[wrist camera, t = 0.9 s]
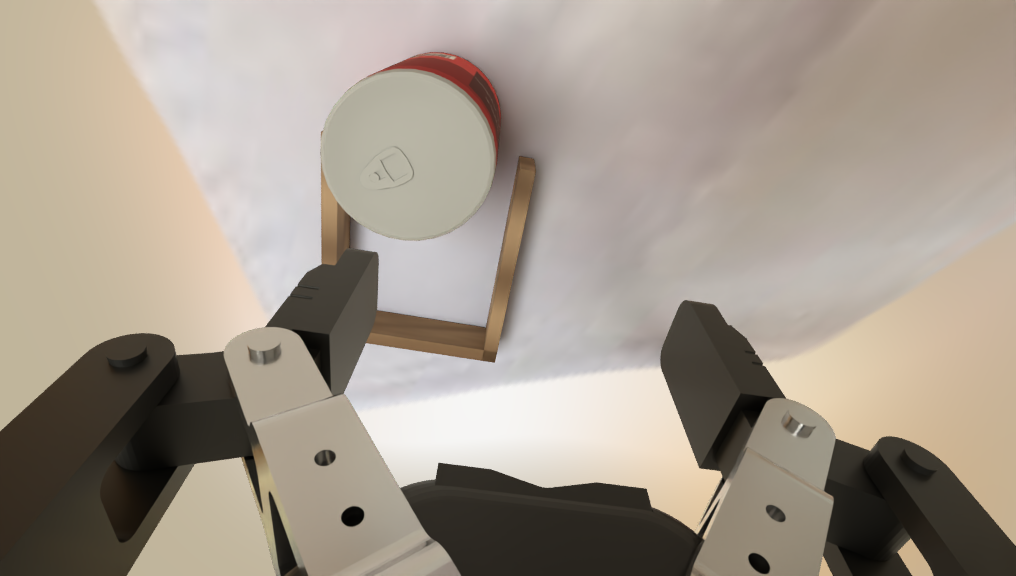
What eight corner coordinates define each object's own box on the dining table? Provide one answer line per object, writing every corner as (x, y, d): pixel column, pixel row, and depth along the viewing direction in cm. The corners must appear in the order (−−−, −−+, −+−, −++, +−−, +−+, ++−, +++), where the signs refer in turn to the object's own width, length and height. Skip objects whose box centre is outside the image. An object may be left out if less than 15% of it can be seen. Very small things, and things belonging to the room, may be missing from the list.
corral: (336, 121, 32) (321, 131, 29) (533, 158, 33) (535, 171, 30) (334, 314, 39) (321, 336, 36) (495, 339, 40) (494, 362, 37)
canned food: (353, 114, 31) (283, 159, 22) (440, 19, 29) (403, 23, 19) (439, 199, 34) (410, 273, 25) (525, 120, 31) (531, 168, 22)
